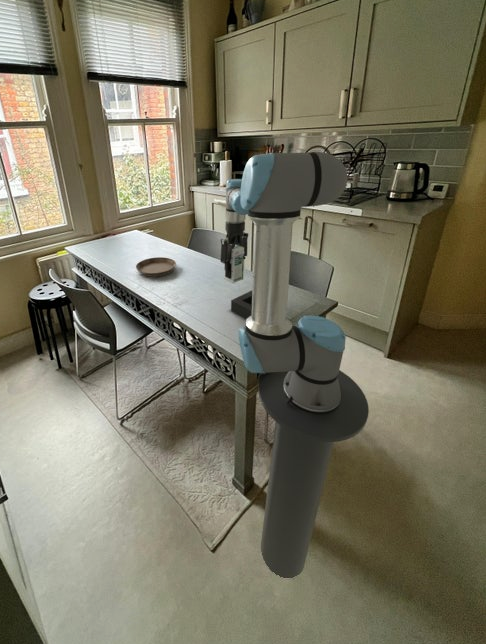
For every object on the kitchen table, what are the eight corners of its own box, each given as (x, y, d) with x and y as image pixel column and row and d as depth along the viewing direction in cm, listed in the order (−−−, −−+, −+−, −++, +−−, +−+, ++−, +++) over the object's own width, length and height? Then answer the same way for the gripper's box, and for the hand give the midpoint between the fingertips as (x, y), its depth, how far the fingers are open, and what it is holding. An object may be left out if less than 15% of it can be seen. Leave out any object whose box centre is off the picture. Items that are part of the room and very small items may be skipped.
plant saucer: (128, 270, 165) (128, 264, 163) (160, 259, 177) (159, 253, 176) (151, 282, 151) (151, 276, 149) (184, 270, 163) (184, 264, 162)
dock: (257, 325, 116) (258, 314, 114) (230, 311, 126) (231, 300, 124) (279, 312, 124) (280, 301, 122) (253, 299, 133) (253, 289, 131)
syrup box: (233, 283, 128) (234, 250, 122) (223, 278, 133) (224, 246, 127) (243, 279, 131) (244, 246, 125) (233, 275, 136) (234, 243, 130)
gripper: (244, 214, 130) (242, 266, 139) (210, 223, 119) (210, 279, 129) (258, 218, 124) (255, 271, 134) (224, 227, 114) (223, 285, 123)
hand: (233, 275), depth 131 cm, fingers closed on syrup box, 6 cm apart
